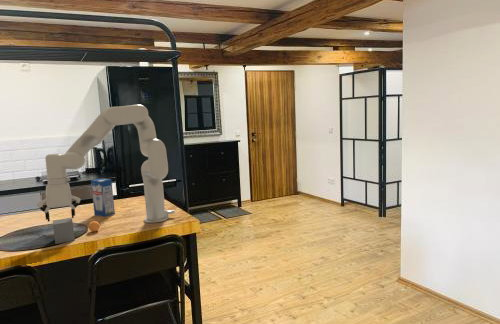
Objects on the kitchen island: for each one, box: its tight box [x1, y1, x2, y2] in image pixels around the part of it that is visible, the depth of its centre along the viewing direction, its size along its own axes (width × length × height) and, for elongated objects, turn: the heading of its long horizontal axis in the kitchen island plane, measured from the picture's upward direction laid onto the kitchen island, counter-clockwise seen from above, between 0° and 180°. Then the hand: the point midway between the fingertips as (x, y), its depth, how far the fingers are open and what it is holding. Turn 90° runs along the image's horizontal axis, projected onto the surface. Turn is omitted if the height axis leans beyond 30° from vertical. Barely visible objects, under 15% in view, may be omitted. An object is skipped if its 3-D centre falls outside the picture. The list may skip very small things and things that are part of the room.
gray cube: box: [52, 217, 76, 245], centre depth 164 cm, size 8×8×9 cm
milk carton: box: [90, 178, 116, 218], centre depth 205 cm, size 10×6×20 cm, turn 57°
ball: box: [88, 220, 101, 233], centre depth 175 cm, size 5×5×5 cm
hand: (60, 219), depth 163 cm, fingers open, 9 cm apart
